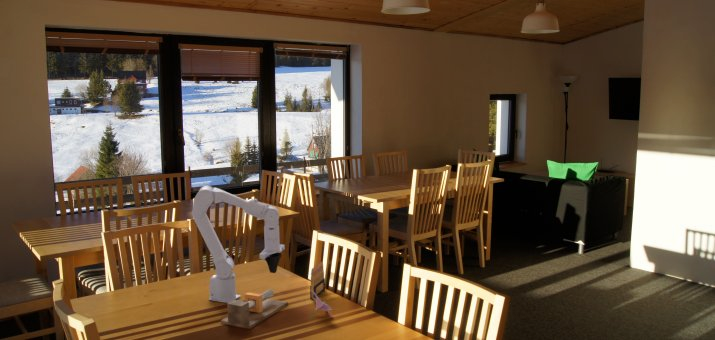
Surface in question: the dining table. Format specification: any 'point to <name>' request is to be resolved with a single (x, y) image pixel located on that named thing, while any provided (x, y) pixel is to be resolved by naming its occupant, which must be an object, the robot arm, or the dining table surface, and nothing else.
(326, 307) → the lily
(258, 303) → the collar
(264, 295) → the pipe
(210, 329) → the dining table surface
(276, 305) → the pipe board
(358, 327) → the dining table surface
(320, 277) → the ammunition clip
